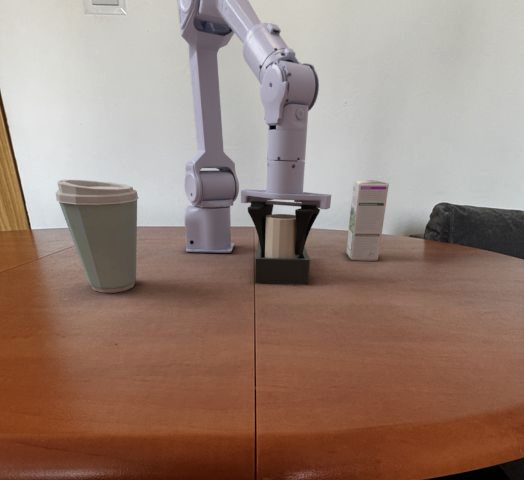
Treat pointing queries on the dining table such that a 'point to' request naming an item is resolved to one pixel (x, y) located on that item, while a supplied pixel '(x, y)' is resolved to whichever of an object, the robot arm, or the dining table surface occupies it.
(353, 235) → the syrup box
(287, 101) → the robot arm
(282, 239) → the paper cup
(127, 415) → the dining table surface
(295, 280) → the cup holder
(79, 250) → the disposable coffee cup
